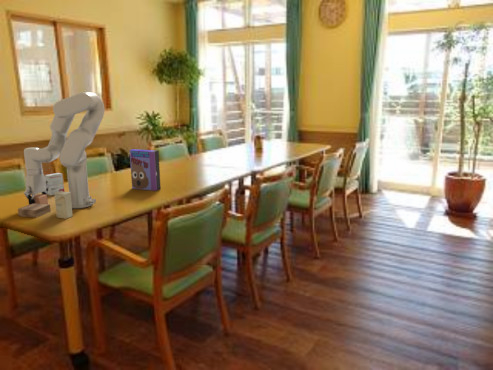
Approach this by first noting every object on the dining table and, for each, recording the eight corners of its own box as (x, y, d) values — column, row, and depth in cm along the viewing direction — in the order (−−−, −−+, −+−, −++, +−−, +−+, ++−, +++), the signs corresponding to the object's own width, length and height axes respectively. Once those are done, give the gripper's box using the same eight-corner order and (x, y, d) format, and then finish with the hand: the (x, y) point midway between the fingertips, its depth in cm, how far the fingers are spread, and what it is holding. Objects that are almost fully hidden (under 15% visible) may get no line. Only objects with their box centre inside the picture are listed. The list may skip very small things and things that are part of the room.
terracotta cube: (48, 205, 215) (46, 194, 214) (40, 208, 209) (39, 197, 208) (38, 205, 216) (36, 194, 215) (30, 208, 210) (28, 197, 209)
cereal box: (132, 188, 250) (129, 150, 245) (136, 186, 254) (134, 148, 249) (156, 191, 244) (153, 151, 238) (160, 189, 248) (158, 150, 243)
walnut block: (50, 212, 205) (49, 204, 204) (36, 218, 195) (35, 210, 194) (33, 210, 207) (32, 203, 206) (18, 216, 197) (17, 208, 197)
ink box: (60, 191, 244) (58, 172, 241) (65, 192, 241) (62, 173, 238) (46, 194, 237) (44, 174, 235) (50, 195, 234) (48, 175, 232)
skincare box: (56, 217, 195) (53, 193, 192) (63, 214, 199) (60, 190, 196) (66, 219, 193) (63, 194, 190) (73, 216, 197) (70, 192, 194)
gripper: (39, 168, 217) (43, 199, 221) (15, 174, 201) (20, 208, 205) (52, 168, 216) (55, 199, 220) (29, 175, 199) (33, 208, 203)
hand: (38, 203), depth 212 cm, fingers open, 9 cm apart
